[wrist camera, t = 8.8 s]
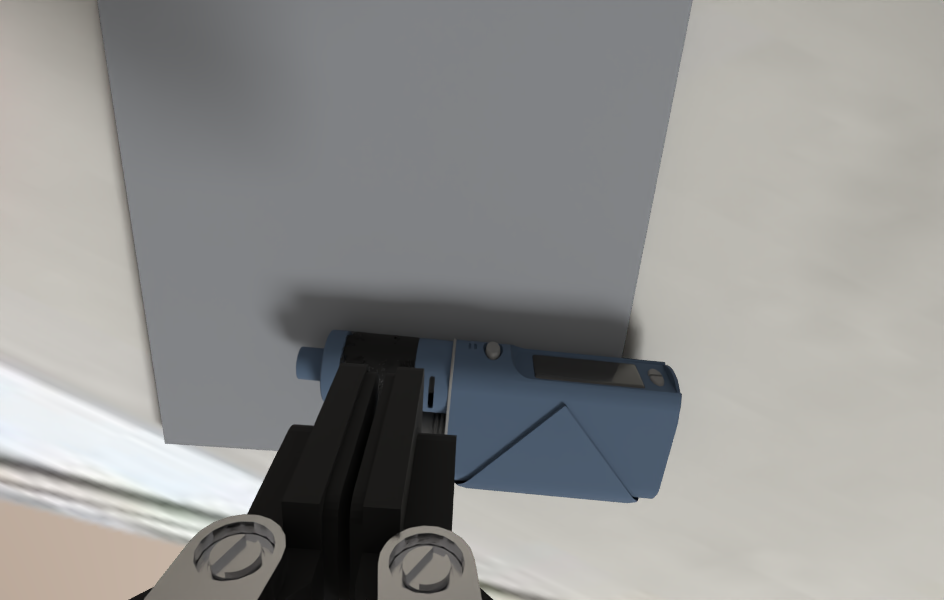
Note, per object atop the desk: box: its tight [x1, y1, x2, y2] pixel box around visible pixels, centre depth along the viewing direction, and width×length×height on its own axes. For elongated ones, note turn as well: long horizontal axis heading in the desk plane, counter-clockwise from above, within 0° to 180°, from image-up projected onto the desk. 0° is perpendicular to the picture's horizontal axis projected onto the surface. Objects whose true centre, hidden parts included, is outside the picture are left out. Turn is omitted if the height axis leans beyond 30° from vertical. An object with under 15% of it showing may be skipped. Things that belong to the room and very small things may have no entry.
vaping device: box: [296, 330, 682, 503], centre depth 20 cm, size 3×5×12 cm
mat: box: [97, 0, 693, 451], centre depth 19 cm, size 16×16×1 cm
